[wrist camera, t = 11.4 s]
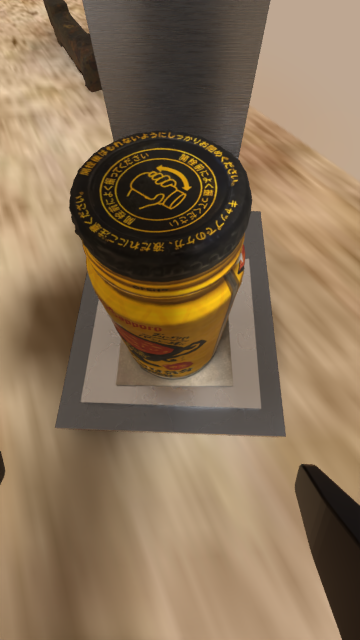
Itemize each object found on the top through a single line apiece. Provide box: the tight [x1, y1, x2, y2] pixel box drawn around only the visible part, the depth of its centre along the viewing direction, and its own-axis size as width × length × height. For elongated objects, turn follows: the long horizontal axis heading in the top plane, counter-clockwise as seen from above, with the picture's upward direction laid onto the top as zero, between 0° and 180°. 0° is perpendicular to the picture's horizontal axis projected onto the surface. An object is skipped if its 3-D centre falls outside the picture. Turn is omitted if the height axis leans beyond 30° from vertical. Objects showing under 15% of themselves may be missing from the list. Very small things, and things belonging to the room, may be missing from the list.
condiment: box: [69, 130, 252, 386], centre depth 13 cm, size 7×8×12 cm
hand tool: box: [43, 0, 102, 92], centre depth 36 cm, size 19×4×5 cm, turn 26°
